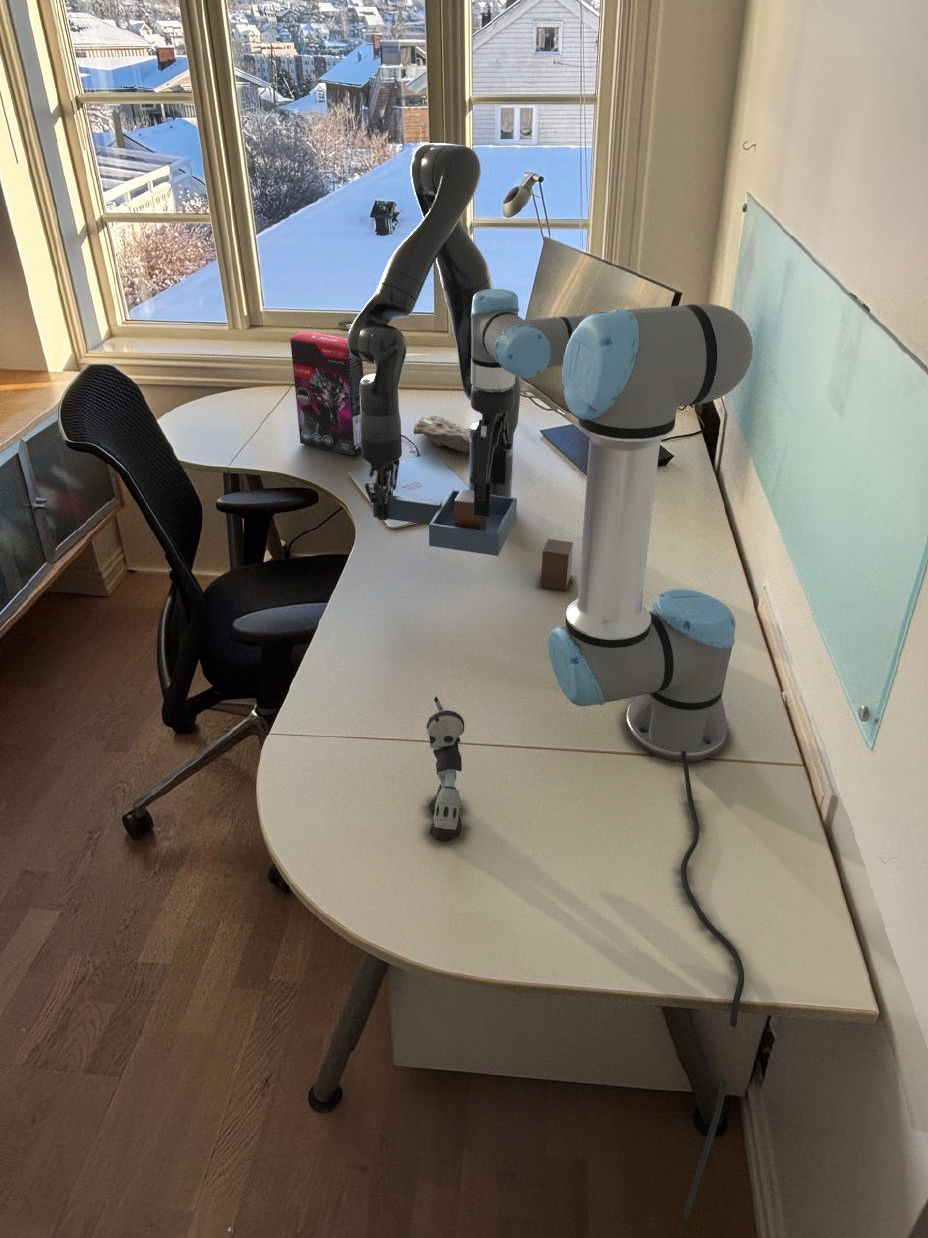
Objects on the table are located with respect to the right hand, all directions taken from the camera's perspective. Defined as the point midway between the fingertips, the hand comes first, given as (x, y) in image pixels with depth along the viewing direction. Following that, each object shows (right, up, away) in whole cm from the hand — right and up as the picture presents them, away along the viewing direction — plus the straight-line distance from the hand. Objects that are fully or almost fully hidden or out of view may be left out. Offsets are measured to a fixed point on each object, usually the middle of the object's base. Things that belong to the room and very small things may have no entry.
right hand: (490, 498), depth 168 cm
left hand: (-20, -2, +11) cm, 23 cm away
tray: (-9, -4, +9) cm, 14 cm away
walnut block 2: (+13, -15, +11) cm, 23 cm away
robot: (-7, -50, -41) cm, 65 cm away
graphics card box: (-38, +22, +64) cm, 78 cm away
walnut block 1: (-4, -6, +4) cm, 8 cm away
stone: (-8, +22, +66) cm, 70 cm away
